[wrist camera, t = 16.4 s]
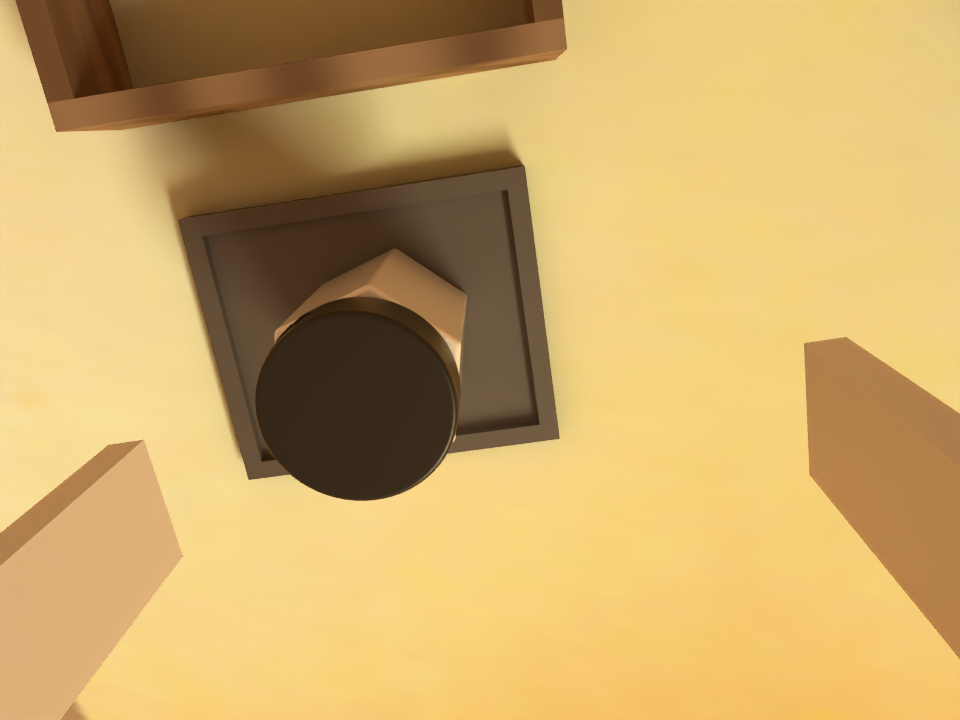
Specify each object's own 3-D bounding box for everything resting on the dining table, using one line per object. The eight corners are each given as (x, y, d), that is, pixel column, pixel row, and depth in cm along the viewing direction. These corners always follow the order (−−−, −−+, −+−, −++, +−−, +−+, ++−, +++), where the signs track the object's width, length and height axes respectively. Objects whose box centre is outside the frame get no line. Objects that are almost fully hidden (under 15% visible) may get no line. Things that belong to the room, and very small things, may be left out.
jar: (317, 242, 39) (247, 292, 28) (472, 252, 39) (465, 307, 28) (318, 400, 42) (254, 505, 31) (462, 410, 42) (452, 518, 31)
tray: (523, 165, 39) (524, 166, 38) (557, 430, 43) (559, 438, 42) (187, 216, 40) (178, 219, 39) (254, 470, 44) (248, 479, 43)
